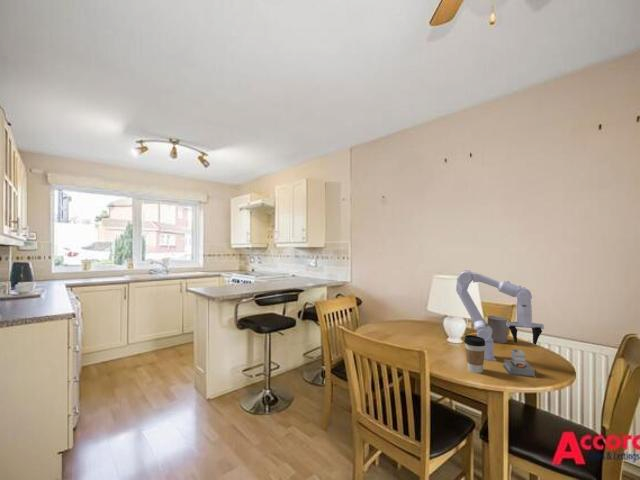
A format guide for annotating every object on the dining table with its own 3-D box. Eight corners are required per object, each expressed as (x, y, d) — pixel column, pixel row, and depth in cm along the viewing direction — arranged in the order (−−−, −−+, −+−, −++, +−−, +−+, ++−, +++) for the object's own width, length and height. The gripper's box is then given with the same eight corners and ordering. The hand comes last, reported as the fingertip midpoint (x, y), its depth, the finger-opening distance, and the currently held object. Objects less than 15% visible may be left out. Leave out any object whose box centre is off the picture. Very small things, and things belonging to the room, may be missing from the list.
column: (514, 367, 125) (514, 352, 126) (511, 363, 129) (511, 349, 130) (525, 368, 124) (525, 353, 124) (522, 364, 128) (521, 350, 128)
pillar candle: (484, 339, 170) (484, 314, 170) (495, 337, 174) (494, 312, 174) (500, 344, 161) (500, 318, 161) (511, 342, 166) (511, 316, 166)
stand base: (509, 375, 124) (509, 365, 124) (502, 366, 133) (502, 357, 133) (536, 378, 121) (536, 368, 121) (527, 368, 130) (527, 359, 130)
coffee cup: (467, 365, 134) (466, 333, 135) (487, 370, 129) (486, 336, 129) (462, 371, 128) (462, 337, 128) (484, 376, 123) (483, 341, 123)
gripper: (509, 314, 133) (509, 344, 133) (546, 317, 128) (547, 347, 128) (504, 311, 140) (505, 339, 139) (539, 313, 135) (540, 342, 135)
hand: (525, 343), depth 134 cm, fingers open, 7 cm apart
